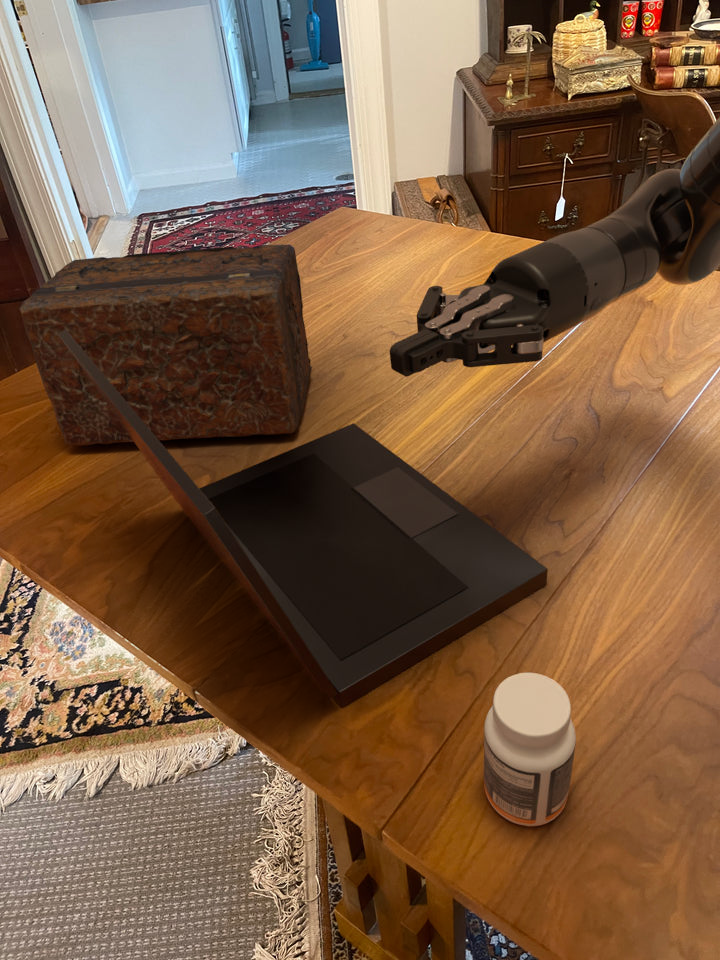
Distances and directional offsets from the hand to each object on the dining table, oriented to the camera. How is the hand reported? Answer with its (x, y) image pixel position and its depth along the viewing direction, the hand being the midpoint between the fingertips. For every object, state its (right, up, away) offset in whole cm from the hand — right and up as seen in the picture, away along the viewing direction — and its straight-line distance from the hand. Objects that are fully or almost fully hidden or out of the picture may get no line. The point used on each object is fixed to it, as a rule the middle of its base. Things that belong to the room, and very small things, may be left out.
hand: (396, 362), depth 55 cm
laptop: (-4, -15, +18) cm, 24 cm away
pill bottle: (+9, -30, -4) cm, 32 cm away
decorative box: (-24, 0, +42) cm, 48 cm away
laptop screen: (-16, -10, +5) cm, 20 cm away
